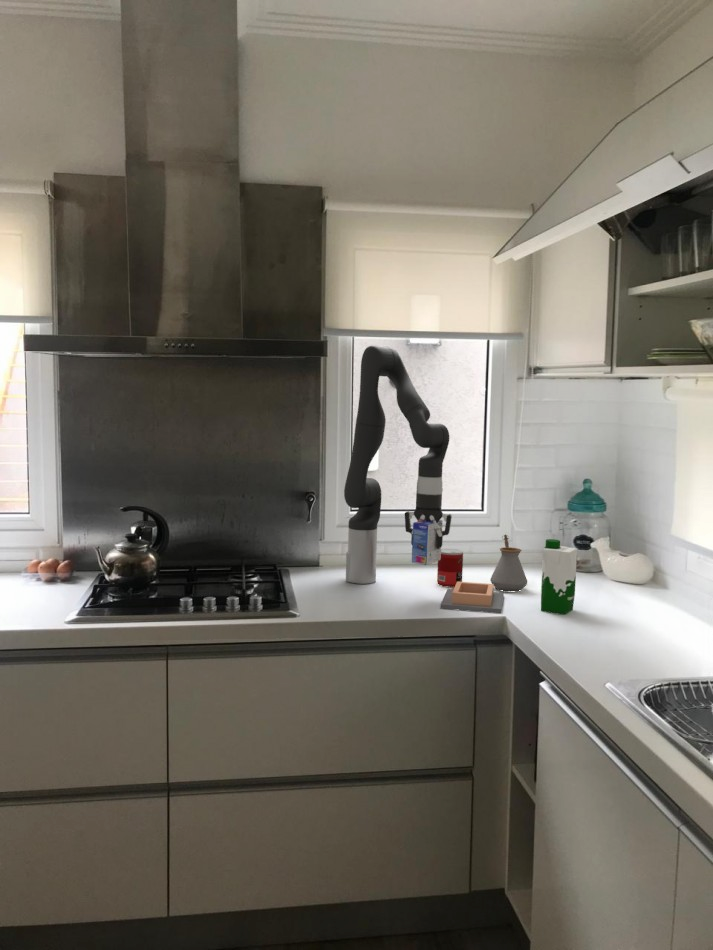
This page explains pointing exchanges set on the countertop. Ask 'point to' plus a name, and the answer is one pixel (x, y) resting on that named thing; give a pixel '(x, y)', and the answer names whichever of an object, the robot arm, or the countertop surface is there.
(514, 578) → the coffee pot
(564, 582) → the milk carton
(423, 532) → the ink cartridge box
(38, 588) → the countertop surface
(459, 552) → the canned food
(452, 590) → the dock
